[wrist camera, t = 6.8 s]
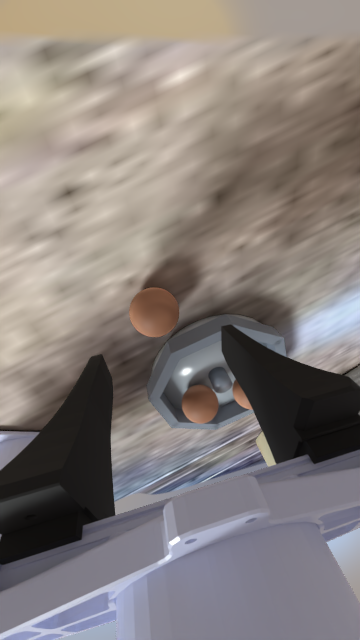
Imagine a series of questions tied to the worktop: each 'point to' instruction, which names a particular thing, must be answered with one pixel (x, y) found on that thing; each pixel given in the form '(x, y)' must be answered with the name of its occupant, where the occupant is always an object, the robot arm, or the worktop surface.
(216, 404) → the bead
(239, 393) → the bead seated
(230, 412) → the groove tray
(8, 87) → the worktop surface
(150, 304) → the bead
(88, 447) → the robot arm
